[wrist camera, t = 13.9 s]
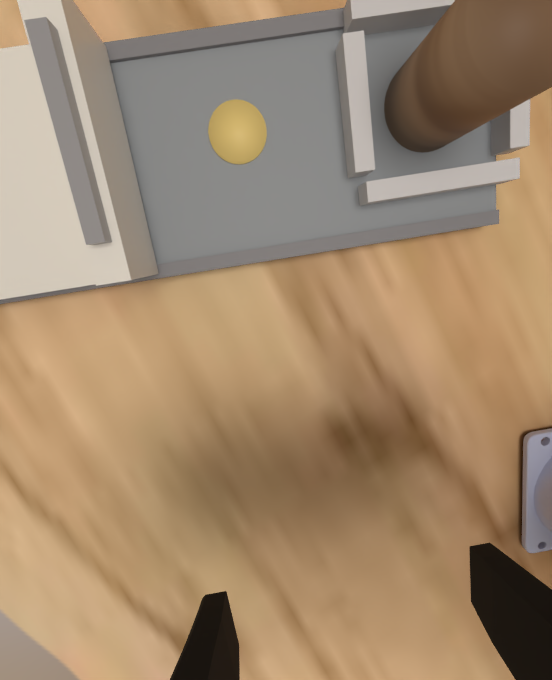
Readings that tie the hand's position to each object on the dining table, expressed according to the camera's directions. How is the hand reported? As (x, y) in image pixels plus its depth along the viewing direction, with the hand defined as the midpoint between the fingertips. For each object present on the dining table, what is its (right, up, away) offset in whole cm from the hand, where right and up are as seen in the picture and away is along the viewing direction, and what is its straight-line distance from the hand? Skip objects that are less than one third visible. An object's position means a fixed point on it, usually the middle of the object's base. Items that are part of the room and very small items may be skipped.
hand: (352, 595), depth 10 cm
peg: (+4, +17, +5) cm, 18 cm away
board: (-5, +15, +6) cm, 17 cm away
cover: (-12, +14, +4) cm, 19 cm away
